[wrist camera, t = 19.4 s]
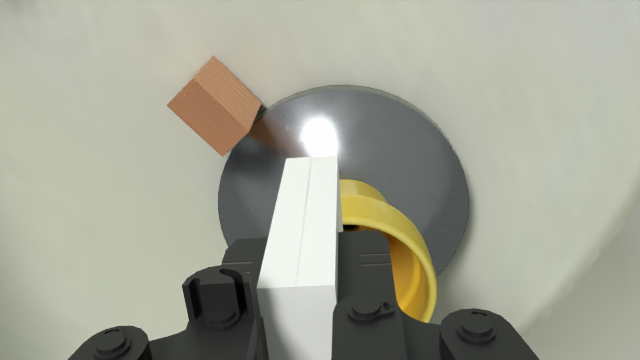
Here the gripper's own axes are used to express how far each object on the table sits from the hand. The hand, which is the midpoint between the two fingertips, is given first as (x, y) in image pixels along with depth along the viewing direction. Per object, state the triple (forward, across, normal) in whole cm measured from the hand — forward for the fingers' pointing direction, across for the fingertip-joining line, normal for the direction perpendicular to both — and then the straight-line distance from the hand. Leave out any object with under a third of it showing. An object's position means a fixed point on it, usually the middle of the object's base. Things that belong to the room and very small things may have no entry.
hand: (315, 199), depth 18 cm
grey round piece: (+24, -2, -10) cm, 26 cm away
